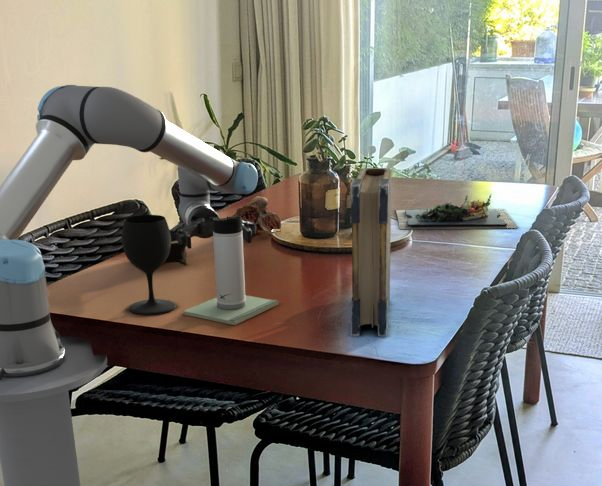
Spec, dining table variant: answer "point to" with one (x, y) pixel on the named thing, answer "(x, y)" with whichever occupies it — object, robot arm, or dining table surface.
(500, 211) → the plated dish
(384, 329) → the decorative book
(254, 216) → the seed pod
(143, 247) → the wine glass
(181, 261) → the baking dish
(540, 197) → the dining table surface
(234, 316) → the pale green notebook
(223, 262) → the travel mug
